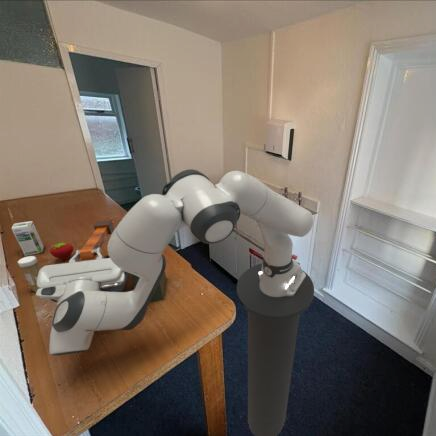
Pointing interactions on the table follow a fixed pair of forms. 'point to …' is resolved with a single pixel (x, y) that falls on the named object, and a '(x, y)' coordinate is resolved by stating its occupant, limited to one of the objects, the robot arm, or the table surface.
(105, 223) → the orange bar brown end
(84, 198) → the table surface
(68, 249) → the strawberry
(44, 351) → the table surface
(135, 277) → the pedestal
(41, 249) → the syrup box
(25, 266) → the sprinkles bottle
